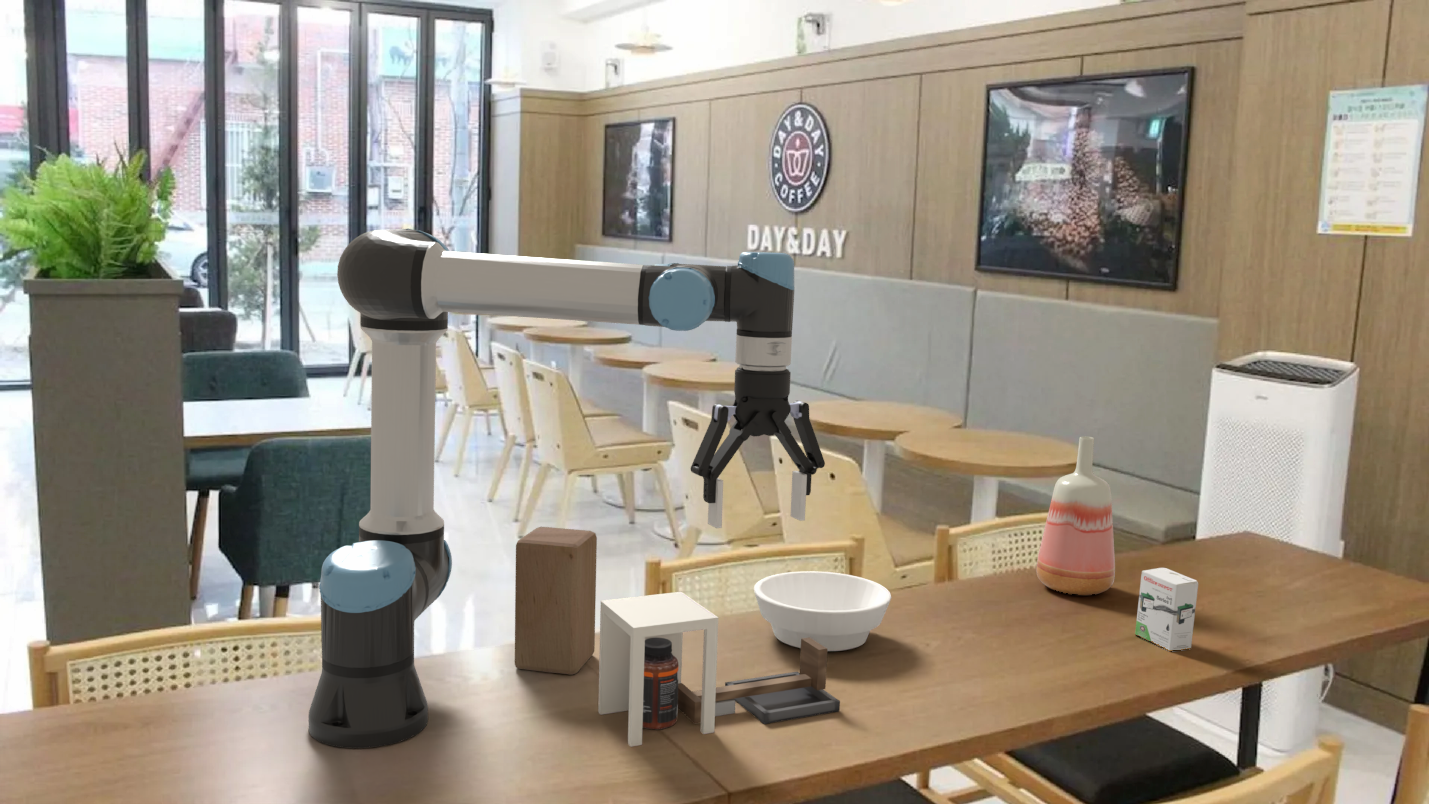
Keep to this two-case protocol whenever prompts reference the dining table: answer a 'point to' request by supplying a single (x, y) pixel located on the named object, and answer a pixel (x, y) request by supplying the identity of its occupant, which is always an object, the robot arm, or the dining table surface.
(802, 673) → the wooden dumbbell-shaped bar
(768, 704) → the grey shallow square tray
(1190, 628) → the ink box
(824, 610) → the bowl
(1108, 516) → the vase
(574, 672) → the wooden block
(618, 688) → the tunnel
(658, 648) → the supplement bottle
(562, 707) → the dining table surface
